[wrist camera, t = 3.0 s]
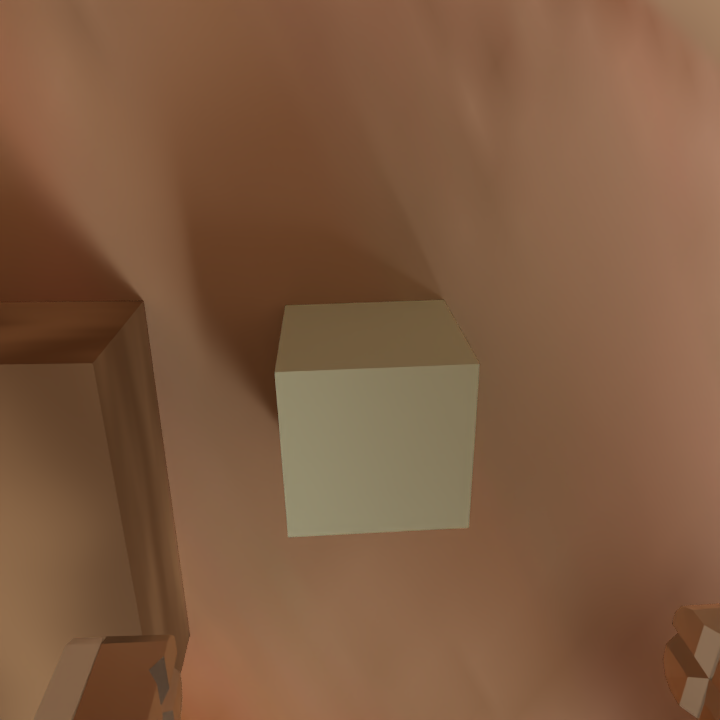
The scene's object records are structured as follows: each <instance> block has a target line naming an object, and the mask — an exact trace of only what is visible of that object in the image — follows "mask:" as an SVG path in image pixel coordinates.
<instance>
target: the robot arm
mask: <svg viewBox="0 0 720 720" xmlns="http://www.w3.org/2000/svg"><path fill="white" fill-rule="evenodd" d="M672 624H673V626H674V627H675V629H676V630H677V632H678V634H676V635H675V636H674V637H673V638H672V639H671V640H670V641H669V642H668V643H667V644H666V648H665V652H664V657H663V664H664V671H665V677H666V680H667V683H668V685H669V688H670V691H671V692H672V694H673V696H674V698H675V699H676V701H677V703H678V704H679V706H680V707H682V708H683V709H685V710H686V711H687V712H689V713H690V714H692V715H693V716H694V717H696V720H720V603H716V604H701V605H686V606H681V607H680V608H679V609H678V610H677V611H676V612H675V615H674V619H673V622H672ZM176 656H177V647H176V641H175V636H173V635H138V636H107V637H89V638H72V640H71V641H70V642H69V643H68V644H67V645H66V647H65V648H64V650H63V653H62V655H61V657H60V659H59V662H58V664H57V666H56V669H55V671H54V673H53V676H52V678H51V680H50V682H49V685H48V687H47V689H46V692H45V694H44V696H43V699H42V701H41V703H40V706H39V708H38V710H37V712H36V715H35V717H34V719H33V720H181V709H182V681H181V673H180V672H179V671H178V670H177V669H176V668H174V665H175V661H176Z"/></svg>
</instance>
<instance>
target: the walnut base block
mask: <svg viewBox="0 0 720 720" xmlns="http://www.w3.org/2000/svg"><path fill="white" fill-rule="evenodd" d="M138 635H173V636H175V641H176V647H177V656H176V661H175V665H174V668H176V669H177V670H178V671H179V672H180V673H181V670H182V666H183V662H184V657H185V653H186V649H187V645H188V641H189V637H190V632H189V624H188V617H187V610H186V603H185V596H184V588H183V581H182V574H181V567H180V559H179V552H178V545H177V538H176V531H175V523H174V516H173V509H172V502H171V494H170V487H169V480H168V473H167V466H166V458H165V451H164V444H163V437H162V429H161V422H160V415H159V408H158V401H157V393H156V386H155V379H154V372H153V364H152V357H151V350H150V343H149V336H148V328H147V321H146V314H145V307H144V301H69V302H0V720H33V719H34V717H35V715H36V712H37V710H38V708H39V706H40V703H41V701H42V699H43V696H44V694H45V692H46V689H47V687H48V685H49V682H50V680H51V678H52V676H53V673H54V671H55V669H56V666H57V664H58V662H59V659H60V657H61V655H62V653H63V650H64V648H65V647H66V645H67V644H68V643H69V642H70V641H71V640H72V638H89V637H107V636H138Z"/></svg>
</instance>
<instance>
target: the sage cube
mask: <svg viewBox="0 0 720 720" xmlns="http://www.w3.org/2000/svg"><path fill="white" fill-rule="evenodd" d="M479 369H480V363H479V362H478V360H477V358H476V356H475V354H474V353H473V351H472V349H471V347H470V346H469V344H468V342H467V340H466V338H465V337H464V335H463V333H462V331H461V330H460V328H459V326H458V324H457V322H456V321H455V319H454V317H453V315H452V314H451V312H450V310H449V308H448V306H447V305H446V303H445V301H444V300H419V301H391V302H363V303H335V304H308V305H285V309H284V316H283V322H282V328H281V335H280V341H279V347H278V353H277V360H276V366H275V384H276V396H277V409H278V421H279V433H280V445H281V457H282V470H283V482H284V494H285V506H286V519H287V531H288V537H305V536H324V535H343V534H362V533H381V532H400V531H419V530H438V529H457V528H469V519H470V504H471V489H472V474H473V459H474V444H475V429H476V414H477V399H478V384H479Z"/></svg>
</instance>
